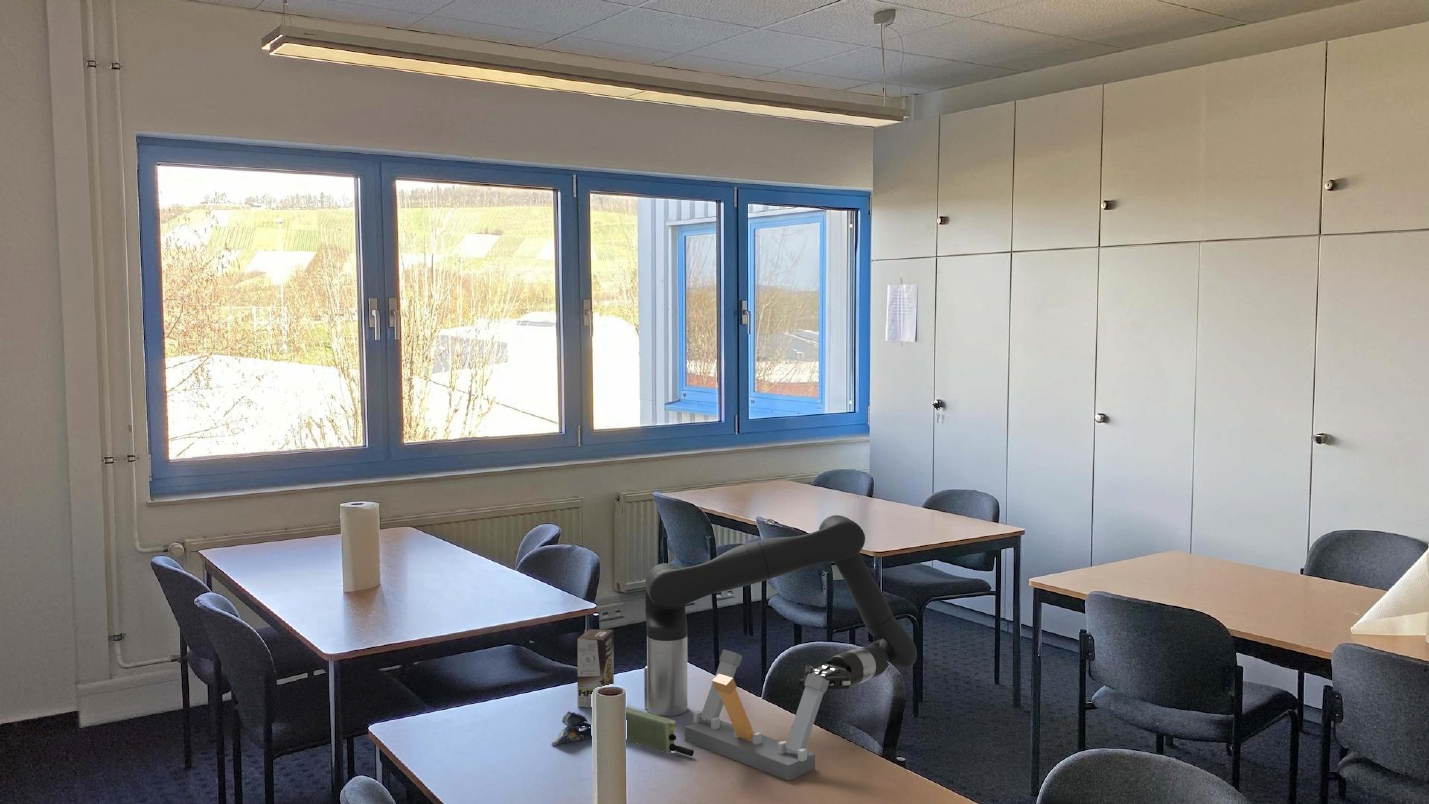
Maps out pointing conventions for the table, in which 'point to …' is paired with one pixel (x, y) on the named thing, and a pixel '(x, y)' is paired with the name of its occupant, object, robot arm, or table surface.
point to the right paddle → (806, 712)
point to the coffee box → (594, 663)
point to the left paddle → (714, 699)
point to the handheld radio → (653, 731)
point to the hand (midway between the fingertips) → (801, 685)
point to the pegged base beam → (749, 748)
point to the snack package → (573, 728)
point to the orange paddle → (733, 706)
